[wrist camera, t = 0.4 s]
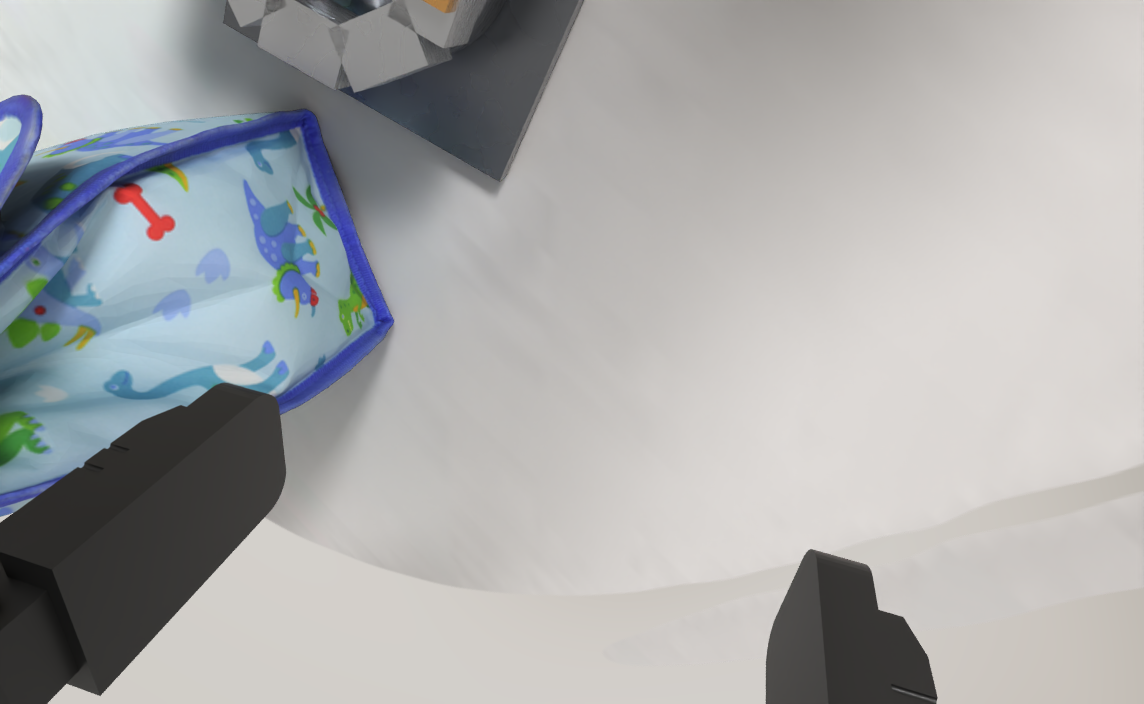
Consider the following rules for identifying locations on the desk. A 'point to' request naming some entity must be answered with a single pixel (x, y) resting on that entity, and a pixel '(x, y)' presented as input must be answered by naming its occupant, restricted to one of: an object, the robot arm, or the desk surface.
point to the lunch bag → (167, 279)
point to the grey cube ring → (359, 37)
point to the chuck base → (474, 80)
